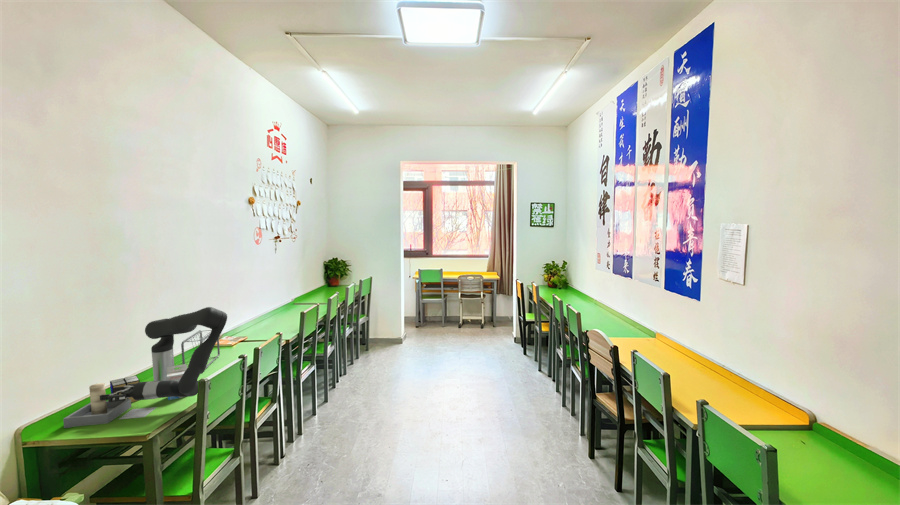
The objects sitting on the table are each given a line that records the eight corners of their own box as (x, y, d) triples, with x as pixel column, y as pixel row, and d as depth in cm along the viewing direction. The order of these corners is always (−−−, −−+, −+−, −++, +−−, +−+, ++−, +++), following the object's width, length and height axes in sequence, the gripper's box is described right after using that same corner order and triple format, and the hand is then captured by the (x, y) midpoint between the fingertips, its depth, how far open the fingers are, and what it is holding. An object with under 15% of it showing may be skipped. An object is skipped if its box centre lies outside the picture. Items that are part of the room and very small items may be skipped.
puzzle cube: (111, 401, 194) (109, 380, 193) (137, 395, 201) (136, 374, 200) (114, 407, 187) (112, 386, 186) (141, 400, 194) (139, 379, 193)
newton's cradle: (203, 371, 233) (201, 340, 231) (182, 373, 230) (180, 342, 229) (220, 355, 262) (218, 328, 261) (201, 357, 259) (199, 329, 258)
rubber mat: (132, 410, 183) (132, 409, 183) (157, 407, 185) (157, 406, 185) (118, 420, 174) (118, 419, 174) (144, 417, 175) (144, 416, 175)
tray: (91, 411, 184) (90, 402, 183) (131, 407, 186) (130, 398, 186) (64, 428, 168) (63, 418, 168) (108, 424, 170) (107, 414, 170)
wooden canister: (97, 413, 179) (94, 383, 178) (109, 411, 180) (107, 382, 179) (88, 418, 174) (86, 388, 173) (102, 417, 175) (99, 387, 174)
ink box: (168, 401, 192) (165, 370, 191) (168, 397, 196) (165, 367, 195) (189, 396, 197) (187, 366, 196) (189, 393, 201) (187, 363, 200)
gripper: (157, 376, 186) (117, 379, 184) (138, 388, 172) (94, 391, 170) (158, 392, 187) (118, 395, 184) (139, 405, 173) (96, 409, 170)
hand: (107, 393), depth 177 cm, fingers open, 8 cm apart
